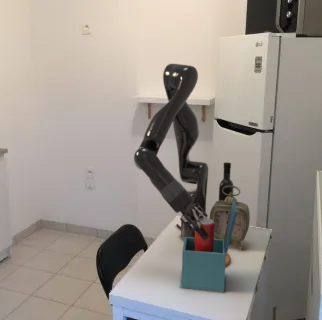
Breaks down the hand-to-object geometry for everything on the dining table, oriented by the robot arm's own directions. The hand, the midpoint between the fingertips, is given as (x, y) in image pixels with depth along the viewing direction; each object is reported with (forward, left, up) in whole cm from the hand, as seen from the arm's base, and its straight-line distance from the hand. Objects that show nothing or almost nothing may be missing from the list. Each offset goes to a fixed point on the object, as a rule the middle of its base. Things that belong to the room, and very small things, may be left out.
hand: (209, 234), depth 145 cm
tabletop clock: (-17, +28, -18) cm, 37 cm away
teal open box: (-1, -1, -17) cm, 17 cm away
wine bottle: (-29, +38, -18) cm, 51 cm away
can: (-1, -1, -6) cm, 6 cm away
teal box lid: (+4, +5, +3) cm, 7 cm away
